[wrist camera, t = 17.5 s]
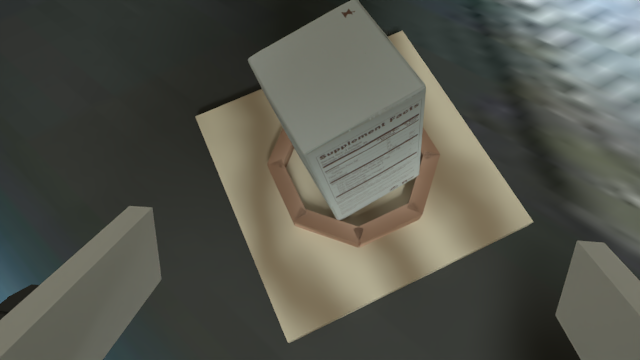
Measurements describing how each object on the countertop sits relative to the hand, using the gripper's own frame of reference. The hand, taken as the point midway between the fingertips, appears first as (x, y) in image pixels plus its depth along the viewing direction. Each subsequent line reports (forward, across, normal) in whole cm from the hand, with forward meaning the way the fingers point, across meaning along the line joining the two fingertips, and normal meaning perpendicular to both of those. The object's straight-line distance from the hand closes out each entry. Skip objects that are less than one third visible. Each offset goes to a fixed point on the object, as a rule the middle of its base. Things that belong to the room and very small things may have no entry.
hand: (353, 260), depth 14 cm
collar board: (+22, 0, -6) cm, 23 cm away
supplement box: (+21, 0, -5) cm, 22 cm away
